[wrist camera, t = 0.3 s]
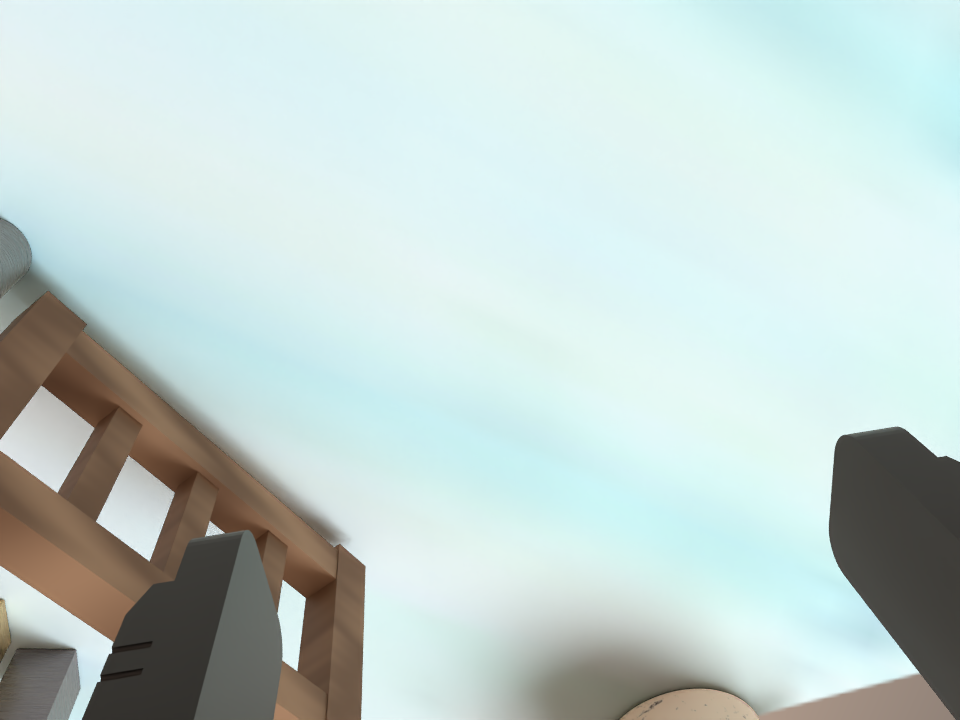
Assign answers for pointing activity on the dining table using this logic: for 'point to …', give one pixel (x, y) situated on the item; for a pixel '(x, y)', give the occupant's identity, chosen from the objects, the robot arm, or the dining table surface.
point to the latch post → (37, 681)
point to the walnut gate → (198, 499)
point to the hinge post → (12, 256)
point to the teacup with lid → (693, 707)
